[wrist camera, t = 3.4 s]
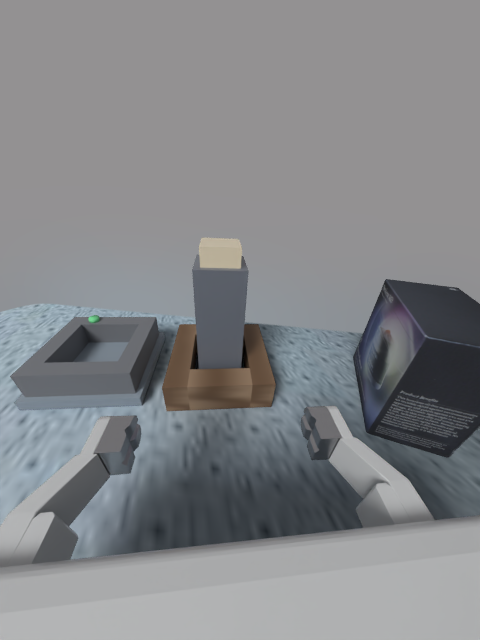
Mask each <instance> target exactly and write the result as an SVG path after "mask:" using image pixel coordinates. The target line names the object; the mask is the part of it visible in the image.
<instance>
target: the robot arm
mask: <svg viewBox="0 0 480 640" xmlns="http://www.w3.org/2000/svg"><path fill="white" fill-rule="evenodd" d="M304 414H305V415H304V416H303V417H302V418H301V430H302V434H303V437H304V438H306V439H307V440H308V443H307V448H308V451H309V454H310V457H311V460H327V459H329V461H330V463H331V464H332V465H333V466H334V467H335V468H336V469H337V470H338V472H339V473H340V474H341V475H342V476H343V477H344V478H345V479H346V481H347V482H348V483H349V484H350V485H351V486H352V487H353V488H354V490H355V491H356V492H357V493H358V494H359V495H360V496H361V497H362V499H363V500H362V501H361V503H360V504H359V505H358V506H357V508H356V512H357V514H358V517H359V519H360V522H361V524H362V526H363V528H357V529H348V530H339V531H330V532H321V533H311V534H302V535H293V536H284V537H275V538H265V539H256V540H247V541H238V542H229V543H220V544H210V545H201V546H192V547H183V548H174V549H164V550H155V551H146V552H137V553H128V554H119V555H109V556H100V557H91V558H82V559H73V560H70V559H71V556H72V554H73V551H74V548H75V546H76V543H77V541H78V535H77V534H76V533H75V532H74V531H73V530H72V529H71V528H70V527H69V526H70V525H71V523H72V522H73V521H74V520H75V519H76V517H77V516H78V515H79V514H80V512H81V511H82V510H83V509H84V508H85V506H86V505H87V504H88V503H89V502H90V500H91V499H92V498H93V497H94V495H95V494H96V493H97V492H98V491H99V489H100V488H101V487H102V486H103V485H104V483H105V482H106V481H107V480H108V478H109V477H110V476H109V475H119V474H129V473H131V470H132V466H133V463H134V460H135V455H134V451H135V450H136V449H137V448H138V447H139V443H140V439H141V427H140V425H139V424H137V422H138V418H137V416H136V415H135V416H106V417H100V418H99V419H98V420H97V422H96V424H95V426H94V428H93V430H92V432H91V434H90V435H89V437H88V439H87V441H86V443H85V445H84V447H83V449H82V451H81V453H80V455H75V456H74V457H73V458H72V459H71V460H70V461H69V462H67V463H66V464H65V465H64V466H63V467H62V468H61V469H59V470H58V471H57V472H56V473H55V474H54V475H53V476H51V477H50V478H49V479H48V480H47V481H46V482H45V483H43V484H42V485H41V486H40V487H39V488H38V489H36V490H35V491H34V492H33V493H32V494H31V495H30V496H28V497H27V498H26V499H25V500H24V501H23V502H22V503H20V504H19V505H18V506H17V507H16V508H15V509H14V510H12V511H11V512H10V513H9V514H8V515H7V517H6V518H5V520H4V521H3V523H2V525H1V526H0V640H480V515H477V516H467V517H458V518H449V519H440V520H435V519H434V518H433V516H432V515H431V513H430V512H429V510H428V509H427V507H426V505H425V504H424V502H423V501H422V499H421V498H420V496H419V495H418V493H417V492H416V490H415V489H414V487H413V485H412V484H411V482H410V481H409V480H408V479H407V478H406V477H405V476H403V475H402V474H401V473H400V472H398V471H397V470H396V469H395V468H394V467H392V466H391V465H390V464H389V463H387V462H386V461H385V460H384V459H382V458H381V457H380V456H379V455H378V454H376V453H375V452H374V451H373V450H371V449H370V448H369V447H368V446H366V445H365V444H364V443H363V442H362V441H360V440H359V439H358V438H354V437H353V435H352V433H351V432H350V430H349V428H348V426H347V424H346V423H345V421H344V419H343V417H342V415H341V413H340V412H339V410H338V408H337V407H336V406H318V407H306V408H305V409H304Z"/></svg>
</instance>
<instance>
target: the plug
mask: <svg viewBox="0 0 480 640" xmlns="http://www.w3.org/2000/svg"><path fill="white" fill-rule="evenodd" d="M192 272H193V287H194V302H195V317H196V333H197V348H198V363H199V369H230V368H241V362H242V348H243V335H244V322H245V308H246V295H247V282H248V269H247V266H246V263H245V260H244V257H243V256H242V247H241V244H240V241H239V239H223V238H202V239H201V242H200V245H199V255H197V256H196V260H195V263H194V266H193V269H192Z"/></svg>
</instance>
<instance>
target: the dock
mask: <svg viewBox="0 0 480 640" xmlns="http://www.w3.org/2000/svg"><path fill="white" fill-rule="evenodd" d="M164 340H165V334H164V332H159V331H158V325H157V320H156V317H99V316H97V315H94V316H91V317H74V318H73V319H72V320H71V321H70V322H69V323H68V324H67V325H66V326H65V327H63V328H62V329H61V330H60V331H59V332H58V333H57V334H56V335H55V336H54V337H53V338H51V339H50V340H49V341H48V342H47V343H46V344H45V345H44V346H43V347H42V348H40V349H39V350H38V351H37V352H36V353H35V354H34V355H33V356H32V357H31V358H30V359H28V360H27V361H26V362H25V363H24V364H23V365H22V366H21V367H20V368H19V369H18V370H16V371H15V372H14V373H13V374H12V375H11V376H10V377H11V378H12V380H13V381H14V382H15V384H16V385H17V387H18V388H19V389H20V391H21V392H22V394H21V395H20V397H19V398H18V399H17V400H16V401H15V402H14V403H15V405H16V406H17V407H18V409H19V410H36V409H62V408H87V407H113V406H138V405H142V404H143V401H144V398H145V395H146V392H147V390H148V387H149V384H150V381H151V378H152V375H153V372H154V369H155V366H156V364H157V361H158V358H159V355H160V352H161V349H162V346H163V343H164Z"/></svg>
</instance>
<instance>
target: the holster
mask: <svg viewBox="0 0 480 640" xmlns="http://www.w3.org/2000/svg"><path fill="white" fill-rule="evenodd" d="M197 355H198V348H197V333H196V324H184V325H179V329H178V332H177V336H176V340H175V343H174V347H173V350H172V354H171V358H170V361H169V365H168V368H167V372H166V376H165V379H164V383H163V387H162V390H163V395H164V400H165V405H166V410H167V411H182V410H206V409H229V408H253V407H271V405H272V401H273V396H274V391H275V386H276V383H275V380H274V376H273V373H272V370H271V366H270V363H269V359H268V356H267V352H266V349H265V346H264V342H263V339H262V335H261V332H260V328H259V325H258V324H244V335H243V348H242V356H243V363H244V368H230V369H195V365H196V358H197Z"/></svg>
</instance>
